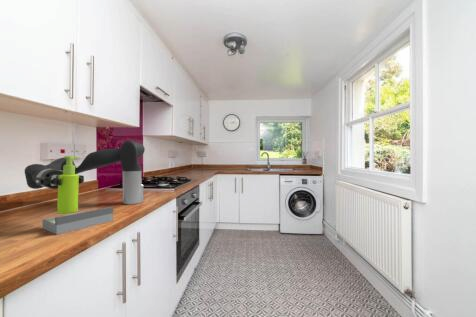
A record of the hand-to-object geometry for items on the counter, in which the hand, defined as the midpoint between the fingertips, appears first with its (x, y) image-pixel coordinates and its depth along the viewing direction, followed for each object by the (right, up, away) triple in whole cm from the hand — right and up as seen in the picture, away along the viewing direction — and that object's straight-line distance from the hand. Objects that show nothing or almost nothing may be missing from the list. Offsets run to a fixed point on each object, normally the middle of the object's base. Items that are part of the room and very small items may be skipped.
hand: (71, 181), depth 78 cm
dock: (+1, -16, +4) cm, 17 cm away
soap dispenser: (-2, -11, +1) cm, 11 cm away
